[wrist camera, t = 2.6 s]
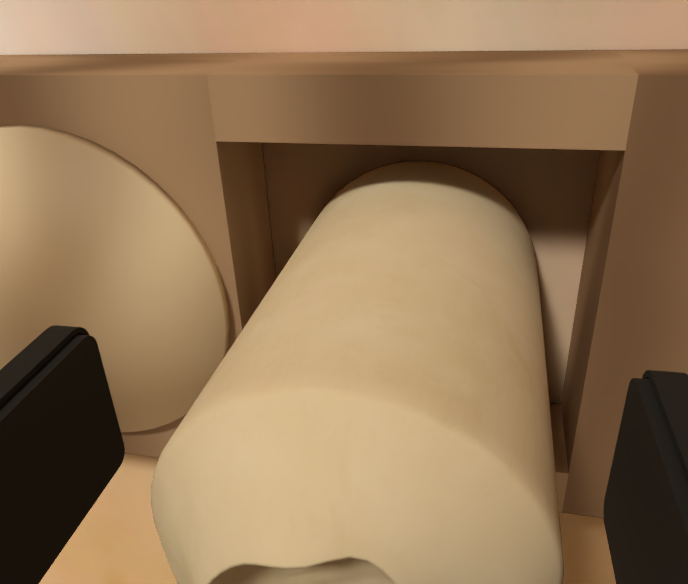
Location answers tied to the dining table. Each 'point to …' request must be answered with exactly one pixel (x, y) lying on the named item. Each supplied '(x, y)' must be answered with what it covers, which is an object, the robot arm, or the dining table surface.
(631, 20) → the dining table surface
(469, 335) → the candle
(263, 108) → the wooden holder tray
